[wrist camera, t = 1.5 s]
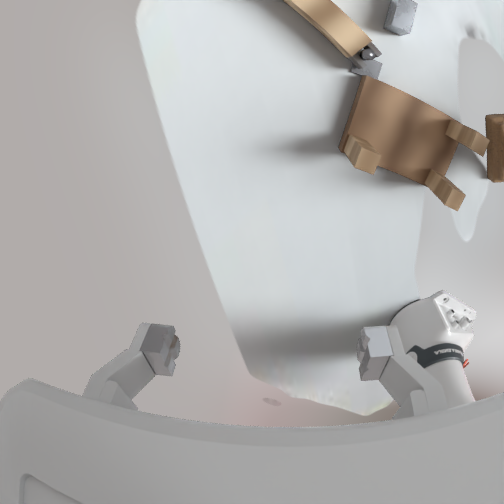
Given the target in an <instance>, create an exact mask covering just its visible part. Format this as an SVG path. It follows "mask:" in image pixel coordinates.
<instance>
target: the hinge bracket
mask: <svg viewBox="0 0 504 504" xmlns="http://www.w3.org/2000/svg"><path fill="white" fill-rule="evenodd" d="M356 54H357V55H358V56H359V57H360V58H361V59H362V60H363V61H364V62H365V63H366V64H367V66H366V67H365V68H363V69H358V68H357V67H356V66H355V65H354V64H353V66H352V70H351V72H354V73H356V74H359V75H361V76H363V75H367V76H369V77H372V78H374V79H378V76H379V73H380V70H381V67H382V63H380V62H378V61H375V60H373V59H374V58H375V52H374V51H373V50H371V49H366V50H362V51H359V52H357V53H356Z"/></svg>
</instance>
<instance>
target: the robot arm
mask: <svg viewBox="0 0 504 504" xmlns="http://www.w3.org/2000/svg"><path fill="white" fill-rule="evenodd" d="M476 315H477V313H476V310H475V309H473V308H472V307H470V306H468V305H467V304H465V303H463V302H462V301H461V300H459V299H457V298H456V297H454V296H452V295H451V294H449V293H448V292H446V291H443V290H442V291H439V292H437V293H436V294H434V295H432V296H431V297H428V298H425V299H422V300H418V301H416V302H413V303H411V304H410V305H408V306H406V307H405V308H403V309H402V310H401V311H400V312H399V313H398V314H397V315H396V316H395V317H394V318H393V320H392V321H391V323H390V325H389V326H373V327H363V328H362V329H361V332H360V334H361V338H360V339H358V343H357V358H358V361H359V362H360V363H361V364H360V367H359V371H360V378H361V381H368V380H379V381H380V382H381V384H382V385H383V386H384V387H385V389H386V390H387V391H388V392H389V394H390V395H391V396H392V397H393V398H394V400H395V401H396V402H397V403H398V405H399V406H400V408H399V410H398V411H397V412H396V414H395V415H394V416H393V417H392V420H388V421H380V422H372V423H363V424H353V425H341V426H324V427H258V426H241V425H228V424H217V423H207V422H199V421H192V420H185V419H179V418H172V417H167V416H161V415H155V414H151V413H146V412H141V411H138V408H137V406H136V405H135V404H134V403H133V402H132V398H133V397H135V396H136V395H137V394H138V393H139V392H140V391H141V390H142V389H143V388H144V386H146V385H147V383H149V382H150V381H151V380H152V379H153V377H155V374H156V375H165V376H172V375H173V372H174V369H175V366H176V364H175V362H174V360H175V359H176V358H177V357H178V356H179V352H180V341H179V338H178V337H177V336H176V335H175V328H174V326H170V325H160V324H150V323H142V324H141V325H140V326H139V328H138V330H137V332H136V335H135V337H134V339H133V341H132V344H131V346H130V348H129V349H126V350H124V352H122V353H120V354H119V355H118V356H117V357H115V358H114V359H113V360H111V361H110V362H108V363H107V364H106V365H104V366H103V367H102V368H100V369H99V370H98V371H96V372H95V373H94V374H92V375H91V377H90V380H89V382H88V384H87V386H86V388H85V391H84V393H83V395H82V396H80V395H77V394H74V393H71V392H68V391H65V390H62V389H59V388H57V387H54V386H51V385H48V384H46V383H43V382H41V381H38V380H36V379H33V378H28V379H26V380H24V381H22V382H20V383H19V384H17V385H16V386H14V387H13V388H11V389H10V390H9V391H7V393H6V394H5V395H4V397H3V398H2V399H1V401H0V504H504V392H503V393H500V394H497V395H494V396H491V397H488V398H485V399H482V400H479V401H475V399H474V397H473V395H472V392H471V390H470V387H469V383H468V381H467V378H466V375H465V372H464V368H465V367H466V366H467V365H468V364H469V362H468V363H467V364H466V362H467V361H468V359H467V360H465V361H464V357H463V353H464V351H465V350H466V348H467V347H468V346H469V344H470V343H471V341H472V339H473V335H474V331H473V328H472V324H473V322H474V320H475V318H476ZM463 361H464V362H463ZM465 364H466V365H465ZM464 365H465V366H464Z"/></svg>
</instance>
